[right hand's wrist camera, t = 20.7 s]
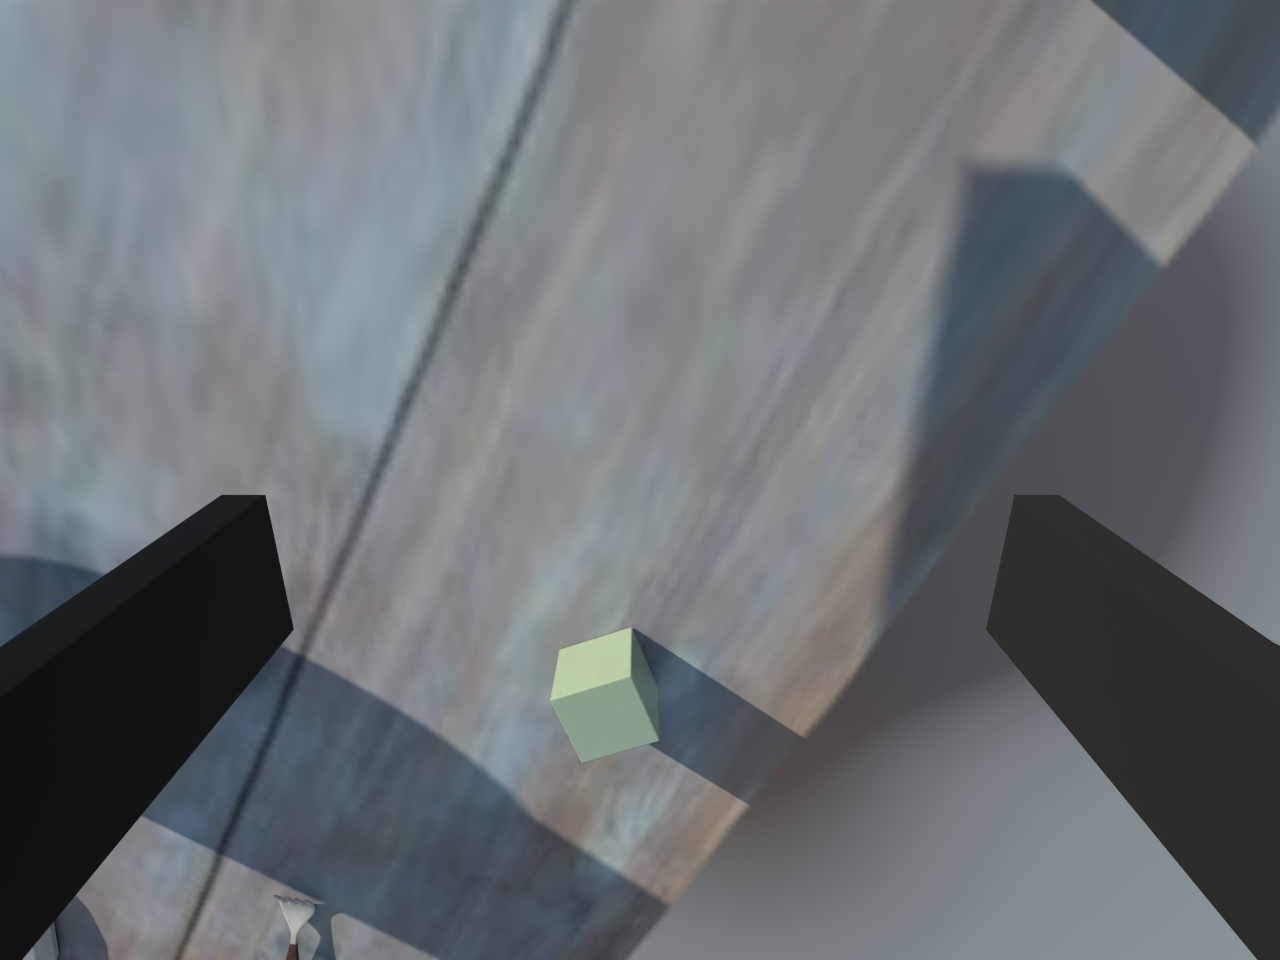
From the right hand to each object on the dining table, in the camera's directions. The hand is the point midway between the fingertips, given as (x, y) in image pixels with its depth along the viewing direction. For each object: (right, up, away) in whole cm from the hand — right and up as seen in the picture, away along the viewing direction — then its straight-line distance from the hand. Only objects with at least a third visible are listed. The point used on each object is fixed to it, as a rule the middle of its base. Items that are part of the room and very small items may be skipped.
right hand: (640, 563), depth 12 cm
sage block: (-2, -11, +33) cm, 35 cm away
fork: (-27, -35, +42) cm, 61 cm away
